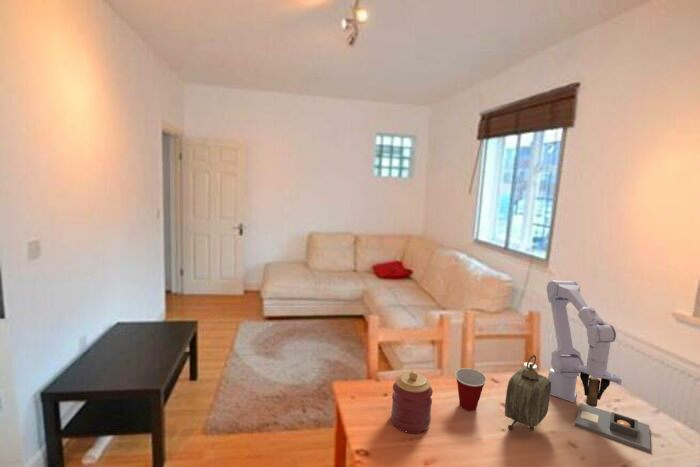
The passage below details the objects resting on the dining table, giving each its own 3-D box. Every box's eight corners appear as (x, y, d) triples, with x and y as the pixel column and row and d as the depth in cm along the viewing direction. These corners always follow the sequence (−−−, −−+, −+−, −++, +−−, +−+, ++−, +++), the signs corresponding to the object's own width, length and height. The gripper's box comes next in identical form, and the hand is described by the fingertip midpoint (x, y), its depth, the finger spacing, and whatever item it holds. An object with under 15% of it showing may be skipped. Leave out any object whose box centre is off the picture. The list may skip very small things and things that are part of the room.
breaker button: (616, 426, 126) (617, 423, 126) (617, 421, 129) (617, 418, 129) (630, 431, 124) (630, 428, 124) (630, 425, 127) (630, 423, 127)
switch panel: (574, 425, 129) (576, 415, 128) (580, 405, 141) (581, 396, 140) (649, 452, 117) (651, 441, 116) (648, 427, 129) (650, 418, 128)
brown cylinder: (585, 404, 131) (588, 379, 130) (586, 400, 134) (589, 376, 132) (596, 408, 129) (600, 383, 128) (597, 403, 132) (600, 379, 131)
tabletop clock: (520, 412, 135) (527, 345, 131) (547, 424, 129) (556, 354, 125) (502, 430, 125) (509, 358, 121) (530, 444, 119) (539, 368, 115)
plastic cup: (450, 411, 134) (453, 379, 132) (454, 395, 144) (456, 365, 142) (483, 419, 130) (486, 386, 128) (484, 402, 140) (487, 371, 138)
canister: (434, 416, 131) (437, 368, 128) (424, 439, 119) (428, 386, 116) (397, 406, 136) (400, 359, 133) (385, 426, 124) (388, 376, 122)
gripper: (571, 356, 130) (566, 393, 132) (623, 370, 122) (617, 409, 123) (574, 349, 136) (569, 385, 138) (624, 362, 127) (618, 400, 129)
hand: (592, 396), depth 131 cm, fingers closed on brown cylinder, 3 cm apart
